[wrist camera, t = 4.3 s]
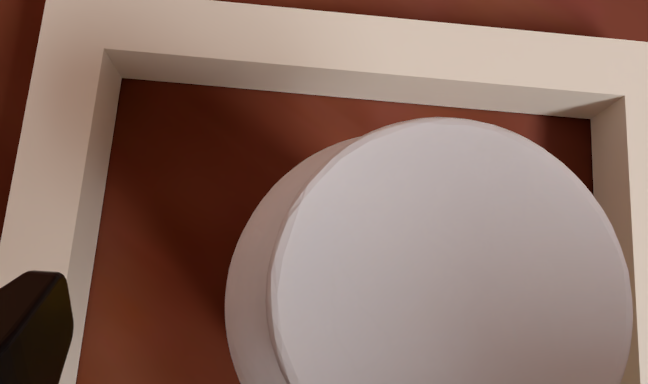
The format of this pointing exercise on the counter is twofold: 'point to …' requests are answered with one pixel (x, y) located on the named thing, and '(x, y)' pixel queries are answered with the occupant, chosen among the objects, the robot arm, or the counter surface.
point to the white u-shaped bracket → (304, 78)
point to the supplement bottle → (429, 267)
